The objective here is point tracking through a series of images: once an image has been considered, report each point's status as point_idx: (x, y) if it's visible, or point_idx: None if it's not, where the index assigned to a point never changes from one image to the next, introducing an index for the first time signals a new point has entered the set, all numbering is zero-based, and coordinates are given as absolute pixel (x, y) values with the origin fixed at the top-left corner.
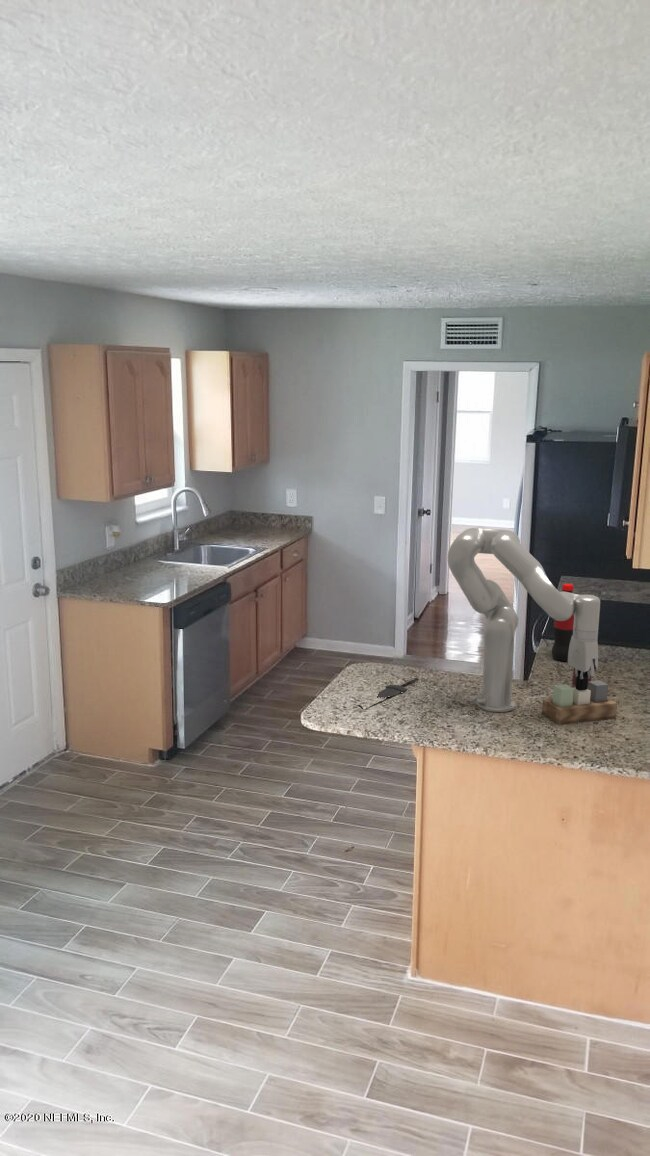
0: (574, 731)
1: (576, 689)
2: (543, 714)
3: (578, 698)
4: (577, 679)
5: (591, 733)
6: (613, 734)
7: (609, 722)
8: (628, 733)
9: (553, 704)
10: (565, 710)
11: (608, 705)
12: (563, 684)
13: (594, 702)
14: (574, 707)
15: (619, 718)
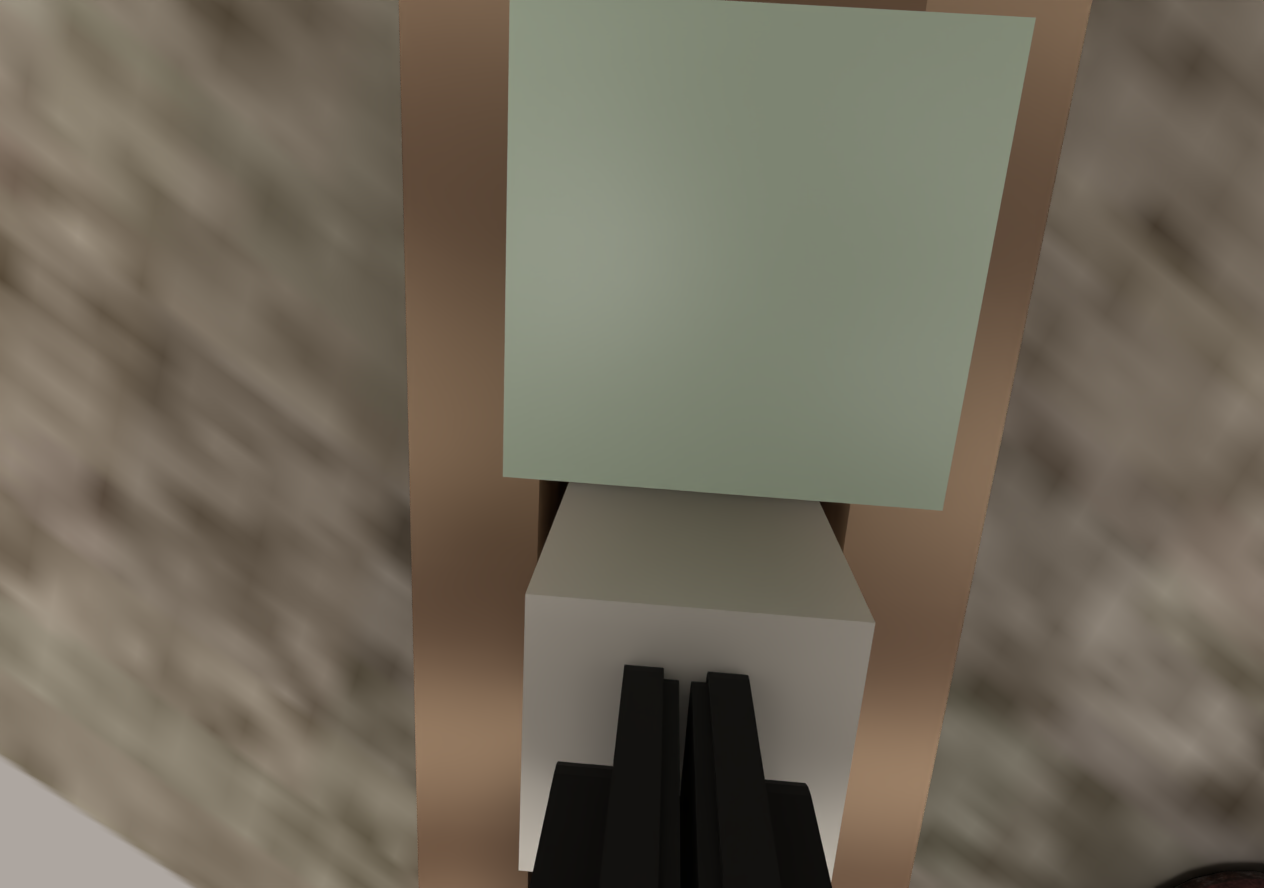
0: (211, 77)
1: (716, 665)
2: None
3: (551, 529)
4: (722, 879)
5: (104, 262)
6: (34, 497)
7: (379, 697)
8: (38, 665)
9: None
10: (407, 73)
11: (424, 878)
12: (935, 418)
13: None
14: (443, 316)
15: None
